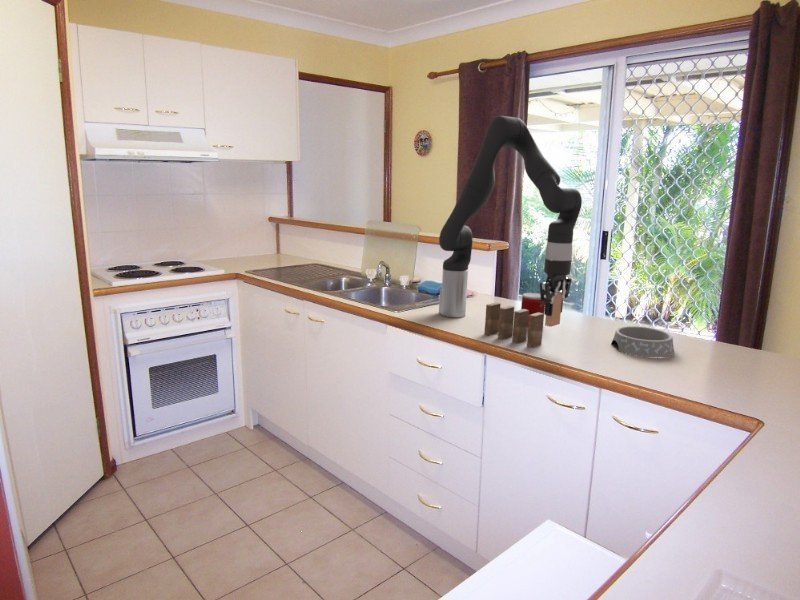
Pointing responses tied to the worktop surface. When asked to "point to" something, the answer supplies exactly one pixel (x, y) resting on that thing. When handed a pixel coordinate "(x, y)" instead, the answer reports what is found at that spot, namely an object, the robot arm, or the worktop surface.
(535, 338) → the domino
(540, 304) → the canned food
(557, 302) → the domino
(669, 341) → the dog bowl
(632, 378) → the worktop surface
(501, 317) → the domino
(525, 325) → the domino
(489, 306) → the domino
